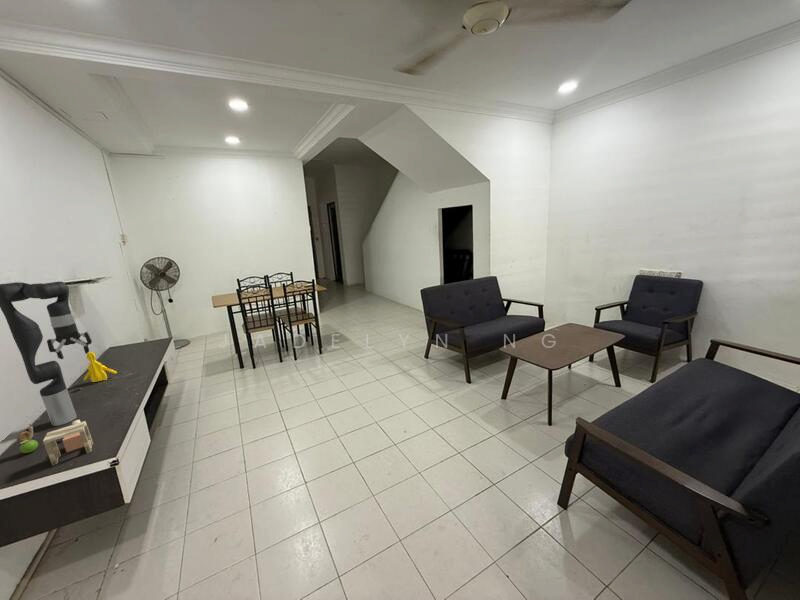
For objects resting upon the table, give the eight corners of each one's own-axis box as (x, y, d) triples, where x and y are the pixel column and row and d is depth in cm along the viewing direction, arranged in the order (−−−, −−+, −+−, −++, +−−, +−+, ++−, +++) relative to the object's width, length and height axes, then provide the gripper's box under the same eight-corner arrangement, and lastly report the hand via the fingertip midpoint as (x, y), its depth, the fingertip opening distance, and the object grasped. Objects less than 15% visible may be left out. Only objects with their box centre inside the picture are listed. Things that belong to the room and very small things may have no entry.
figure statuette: (119, 375, 221) (110, 346, 216) (115, 379, 214) (106, 349, 209) (86, 382, 213) (75, 352, 208) (81, 387, 206) (70, 356, 201)
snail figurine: (45, 445, 147) (36, 423, 144) (30, 455, 140) (21, 432, 138) (34, 446, 146) (24, 424, 144) (18, 456, 140) (8, 433, 137)
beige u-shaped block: (56, 456, 138) (47, 432, 135) (93, 443, 145) (85, 420, 142) (52, 465, 132) (42, 441, 130) (91, 451, 139) (82, 428, 137)
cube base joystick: (72, 436, 152) (67, 422, 150) (89, 430, 156) (84, 417, 154) (66, 452, 140) (61, 437, 139) (85, 445, 144) (80, 431, 142)
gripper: (85, 319, 155) (95, 349, 159) (44, 326, 147) (55, 358, 150) (83, 321, 149) (93, 353, 153) (39, 329, 141) (51, 362, 145)
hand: (74, 355), depth 152 cm, fingers open, 8 cm apart
